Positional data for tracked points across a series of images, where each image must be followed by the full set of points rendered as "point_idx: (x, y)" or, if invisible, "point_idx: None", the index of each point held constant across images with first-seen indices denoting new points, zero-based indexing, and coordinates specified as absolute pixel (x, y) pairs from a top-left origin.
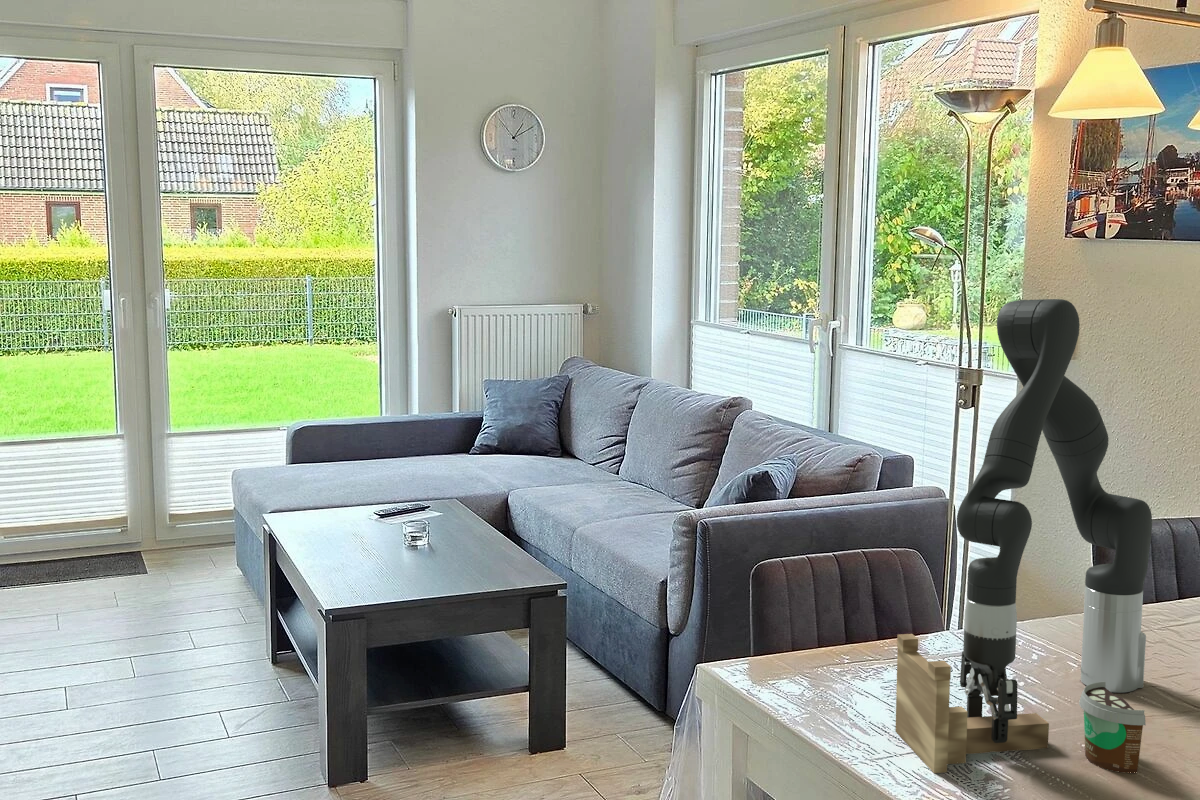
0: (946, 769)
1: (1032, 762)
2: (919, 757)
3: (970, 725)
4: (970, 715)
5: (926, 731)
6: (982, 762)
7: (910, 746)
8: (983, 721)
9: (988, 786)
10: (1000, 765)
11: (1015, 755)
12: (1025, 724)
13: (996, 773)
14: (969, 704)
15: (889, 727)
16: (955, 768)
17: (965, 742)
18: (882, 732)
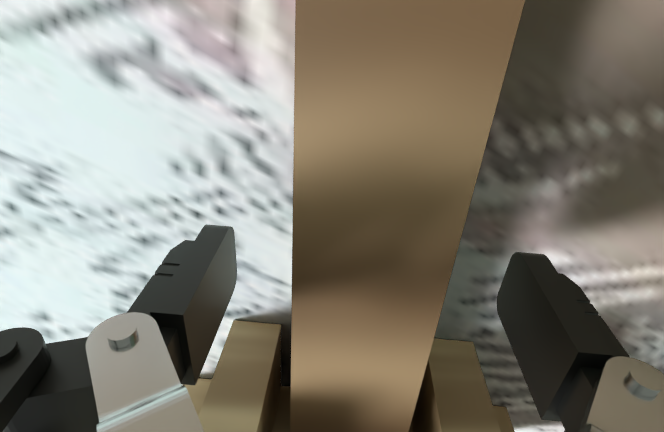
0: (508, 417)
1: (597, 106)
2: None
3: (386, 373)
4: (230, 292)
5: None
6: (491, 294)
7: None
8: (356, 303)
9: (657, 358)
10: (546, 251)
11: (493, 143)
12: (491, 93)
13: (594, 295)
14: (208, 345)
15: None
16: (492, 378)
17: (494, 416)
18: None
